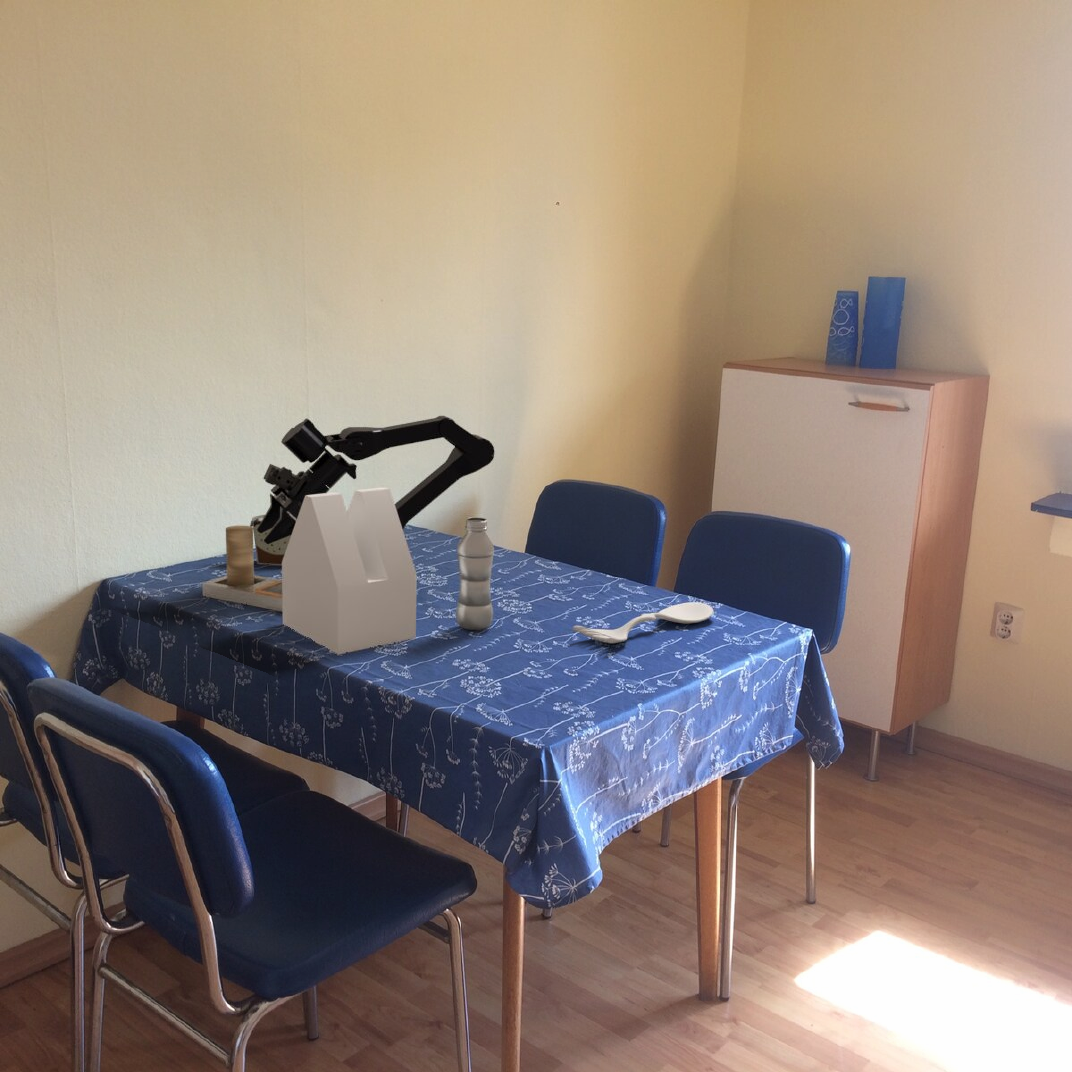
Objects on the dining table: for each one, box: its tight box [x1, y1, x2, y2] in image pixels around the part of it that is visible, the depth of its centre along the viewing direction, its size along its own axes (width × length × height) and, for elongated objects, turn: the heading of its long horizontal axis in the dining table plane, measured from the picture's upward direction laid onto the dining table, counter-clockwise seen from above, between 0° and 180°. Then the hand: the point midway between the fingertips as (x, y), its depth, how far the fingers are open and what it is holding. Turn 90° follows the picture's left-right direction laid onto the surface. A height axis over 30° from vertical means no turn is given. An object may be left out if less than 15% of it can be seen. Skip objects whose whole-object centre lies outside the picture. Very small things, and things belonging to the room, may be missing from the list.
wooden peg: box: [225, 524, 255, 588], centre depth 213 cm, size 5×5×13 cm
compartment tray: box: [202, 574, 283, 613], centre depth 212 cm, size 21×10×3 cm, turn 65°
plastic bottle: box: [455, 516, 495, 631], centre depth 197 cm, size 6×7×20 cm
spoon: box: [572, 601, 715, 644], centre depth 201 cm, size 9×32×4 cm, turn 134°
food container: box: [249, 514, 291, 566], centre depth 238 cm, size 12×6×10 cm, turn 84°
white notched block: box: [281, 486, 418, 655], centre depth 192 cm, size 19×15×25 cm
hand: (261, 537), depth 214 cm, fingers open, 9 cm apart
